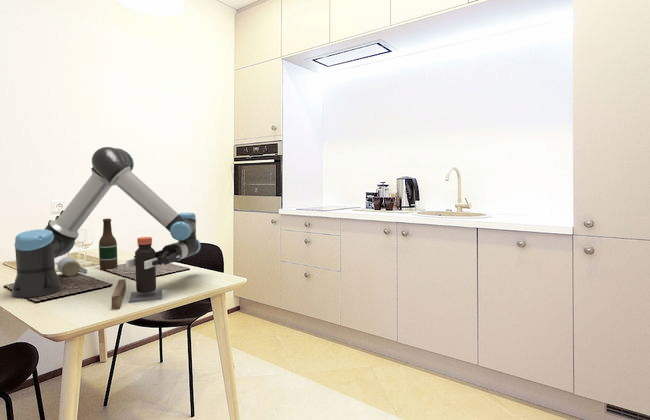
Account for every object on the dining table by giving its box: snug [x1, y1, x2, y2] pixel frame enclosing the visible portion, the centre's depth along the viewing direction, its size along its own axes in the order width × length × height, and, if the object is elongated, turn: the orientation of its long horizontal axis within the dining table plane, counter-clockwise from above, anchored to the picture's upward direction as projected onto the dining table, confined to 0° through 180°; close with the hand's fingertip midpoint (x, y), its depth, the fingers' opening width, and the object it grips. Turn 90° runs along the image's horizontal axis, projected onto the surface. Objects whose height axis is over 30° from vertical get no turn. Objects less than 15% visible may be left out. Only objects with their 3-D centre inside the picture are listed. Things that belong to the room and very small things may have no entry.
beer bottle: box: [98, 218, 118, 270], centre depth 184 cm, size 8×8×24 cm
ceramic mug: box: [57, 256, 88, 277], centre depth 172 cm, size 11×8×8 cm
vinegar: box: [134, 236, 157, 293], centre depth 142 cm, size 7×7×20 cm
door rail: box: [111, 278, 127, 310], centre depth 140 cm, size 2×22×4 cm, turn 23°
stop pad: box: [128, 289, 163, 304], centre depth 143 cm, size 11×11×1 cm
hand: (136, 264), depth 137 cm, fingers closed on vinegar, 7 cm apart
